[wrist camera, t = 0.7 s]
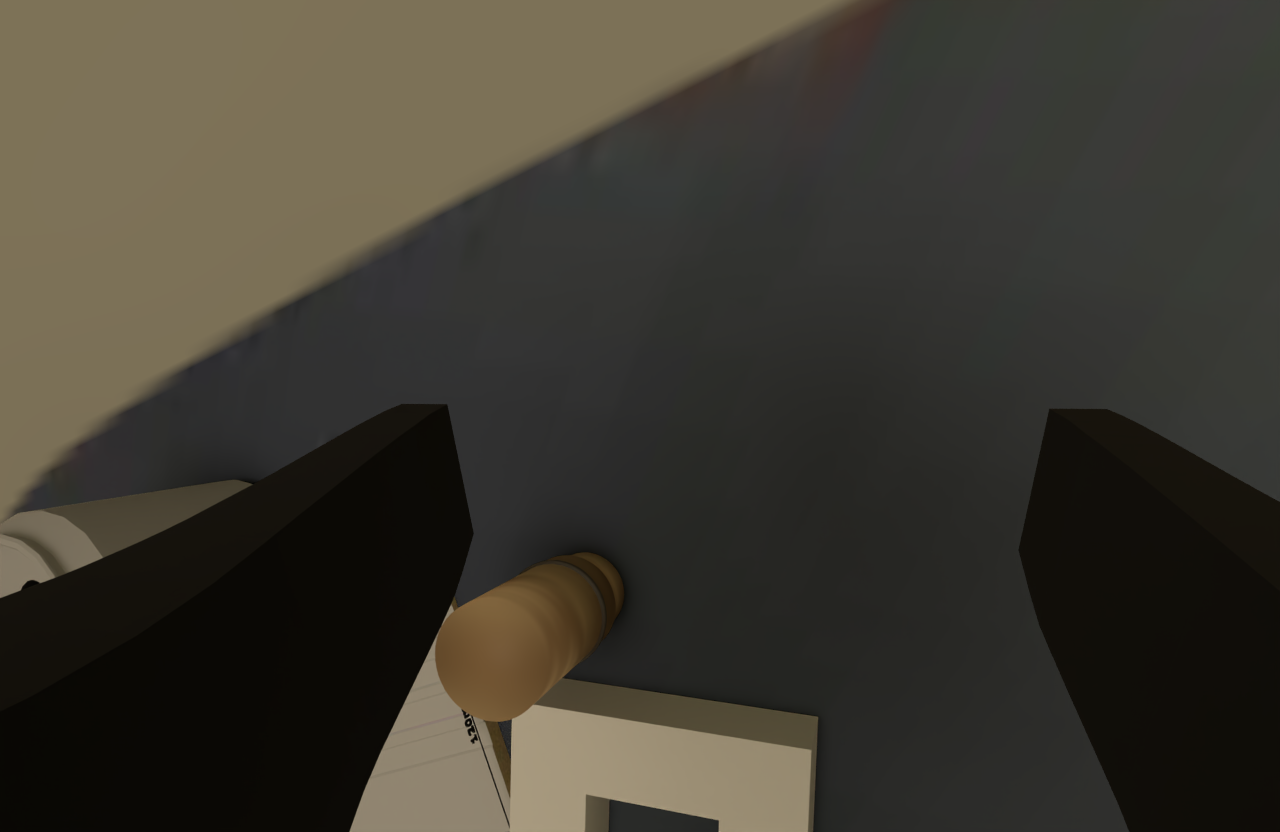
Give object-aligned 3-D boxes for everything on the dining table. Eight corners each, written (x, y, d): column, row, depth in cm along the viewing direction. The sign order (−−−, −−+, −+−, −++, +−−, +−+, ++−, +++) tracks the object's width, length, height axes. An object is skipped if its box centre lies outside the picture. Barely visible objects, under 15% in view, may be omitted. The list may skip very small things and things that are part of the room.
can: (313, 633, 39) (76, 740, 28) (191, 617, 41) (-75, 710, 30) (312, 481, 39) (71, 525, 27) (189, 473, 41) (-82, 511, 30)
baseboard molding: (10, 716, 46) (72, 917, 46) (-45, 737, 44) (20, 952, 43) (451, 561, 37) (537, 810, 37) (416, 576, 35) (508, 846, 34)
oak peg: (631, 644, 34) (546, 734, 26) (541, 632, 36) (431, 714, 27) (634, 547, 34) (549, 605, 25) (543, 538, 35) (433, 591, 27)
